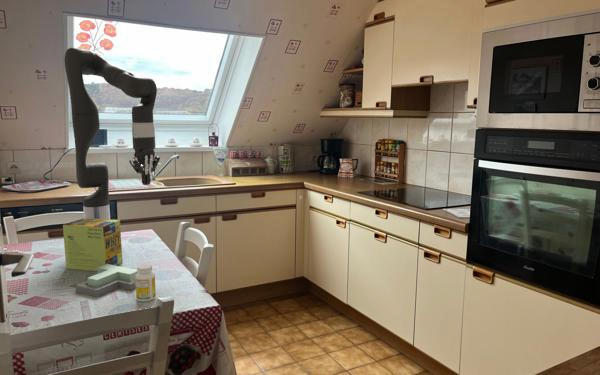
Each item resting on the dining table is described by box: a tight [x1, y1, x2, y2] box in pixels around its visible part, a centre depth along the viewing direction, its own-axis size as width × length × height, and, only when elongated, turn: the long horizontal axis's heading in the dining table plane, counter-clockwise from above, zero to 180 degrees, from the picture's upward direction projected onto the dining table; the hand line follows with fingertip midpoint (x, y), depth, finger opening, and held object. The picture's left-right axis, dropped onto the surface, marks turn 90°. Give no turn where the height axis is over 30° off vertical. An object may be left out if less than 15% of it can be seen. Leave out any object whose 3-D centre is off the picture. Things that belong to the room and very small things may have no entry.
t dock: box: [75, 272, 136, 298], centre depth 147 cm, size 19×10×2 cm, turn 63°
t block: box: [86, 264, 138, 288], centre depth 150 cm, size 12×14×4 cm
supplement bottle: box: [135, 263, 157, 303], centre depth 139 cm, size 5×5×10 cm
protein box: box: [62, 217, 124, 272], centre depth 167 cm, size 10×15×16 cm
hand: (146, 184), depth 172 cm, fingers closed
